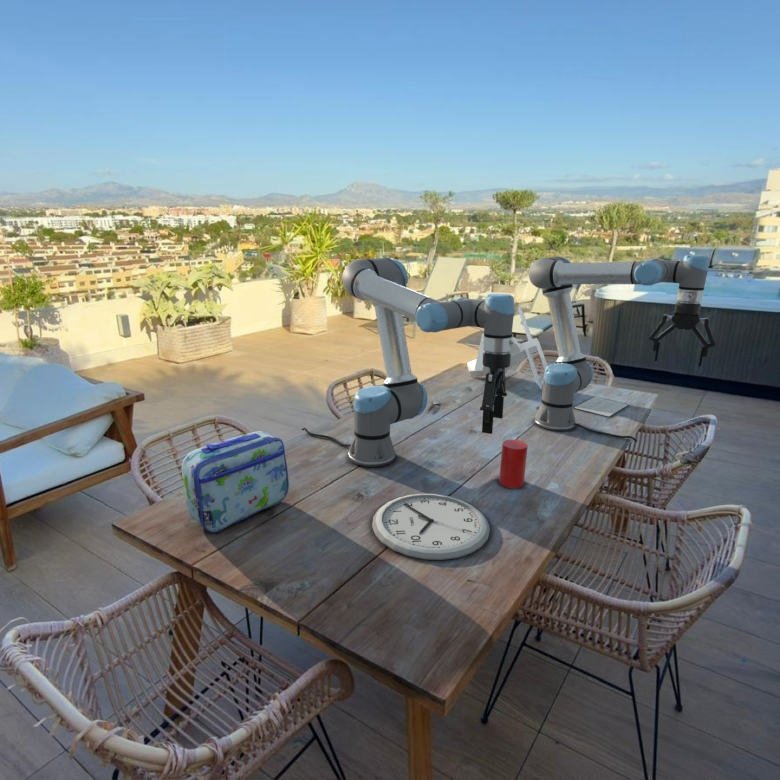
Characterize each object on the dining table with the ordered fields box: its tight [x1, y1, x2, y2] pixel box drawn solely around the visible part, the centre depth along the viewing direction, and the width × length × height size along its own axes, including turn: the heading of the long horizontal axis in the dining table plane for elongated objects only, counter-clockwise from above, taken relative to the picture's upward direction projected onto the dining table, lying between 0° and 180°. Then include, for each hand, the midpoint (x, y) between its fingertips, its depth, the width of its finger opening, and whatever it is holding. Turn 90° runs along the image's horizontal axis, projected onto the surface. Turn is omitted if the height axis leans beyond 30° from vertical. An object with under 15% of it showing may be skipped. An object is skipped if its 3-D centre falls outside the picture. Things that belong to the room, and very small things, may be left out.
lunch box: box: [181, 430, 290, 533], centre depth 135 cm, size 26×11×21 cm, turn 134°
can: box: [498, 439, 529, 489], centre depth 155 cm, size 7×7×13 cm
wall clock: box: [371, 493, 491, 561], centre depth 134 cm, size 30×2×30 cm
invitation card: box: [573, 396, 629, 418], centre depth 226 cm, size 21×1×15 cm
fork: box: [427, 396, 442, 412], centre depth 222 cm, size 3×16×2 cm, turn 160°
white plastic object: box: [466, 306, 549, 390], centre depth 259 cm, size 37×45×31 cm
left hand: (492, 425), depth 149 cm, fingers open, 13 cm apart
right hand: (677, 362), depth 184 cm, fingers open, 13 cm apart
